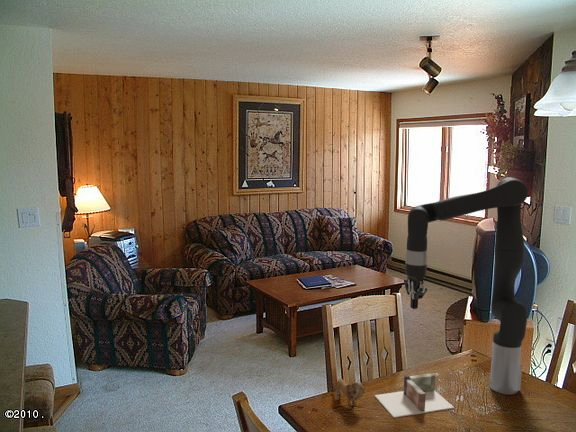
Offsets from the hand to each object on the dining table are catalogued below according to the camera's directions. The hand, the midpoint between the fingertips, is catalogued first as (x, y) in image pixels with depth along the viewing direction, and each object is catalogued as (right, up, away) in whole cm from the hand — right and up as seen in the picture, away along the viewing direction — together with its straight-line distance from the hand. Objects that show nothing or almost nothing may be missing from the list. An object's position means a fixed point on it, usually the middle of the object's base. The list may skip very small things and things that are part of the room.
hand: (413, 308), depth 181 cm
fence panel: (-3, -29, -15) cm, 32 cm away
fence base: (0, -28, -7) cm, 29 cm away
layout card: (-4, -29, -13) cm, 32 cm away
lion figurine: (-26, -29, -13) cm, 41 cm away
